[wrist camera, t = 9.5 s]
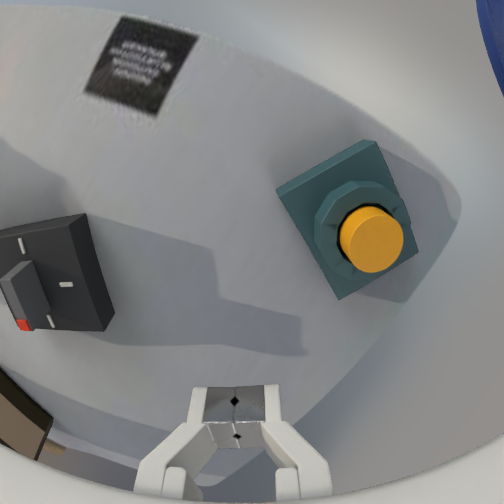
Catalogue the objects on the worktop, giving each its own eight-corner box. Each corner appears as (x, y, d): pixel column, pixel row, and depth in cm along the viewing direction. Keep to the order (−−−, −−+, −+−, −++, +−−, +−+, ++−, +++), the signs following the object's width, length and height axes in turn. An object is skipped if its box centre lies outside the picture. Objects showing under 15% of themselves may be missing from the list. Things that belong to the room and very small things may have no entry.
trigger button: (397, 242, 20) (410, 253, 18) (352, 269, 21) (361, 283, 19) (378, 195, 18) (392, 203, 16) (329, 224, 19) (338, 235, 17)
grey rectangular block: (21, 261, 20) (-3, 281, 17) (32, 259, 20) (8, 280, 17) (39, 308, 22) (20, 332, 19) (51, 309, 22) (32, 333, 19)
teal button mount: (407, 242, 24) (429, 261, 20) (331, 287, 25) (344, 313, 22) (364, 139, 20) (387, 143, 17) (275, 189, 22) (281, 203, 18)
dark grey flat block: (85, 212, 22) (67, 225, 19) (115, 312, 26) (103, 332, 23) (1, 229, 22) (-18, 241, 19) (31, 311, 26) (17, 328, 23)
